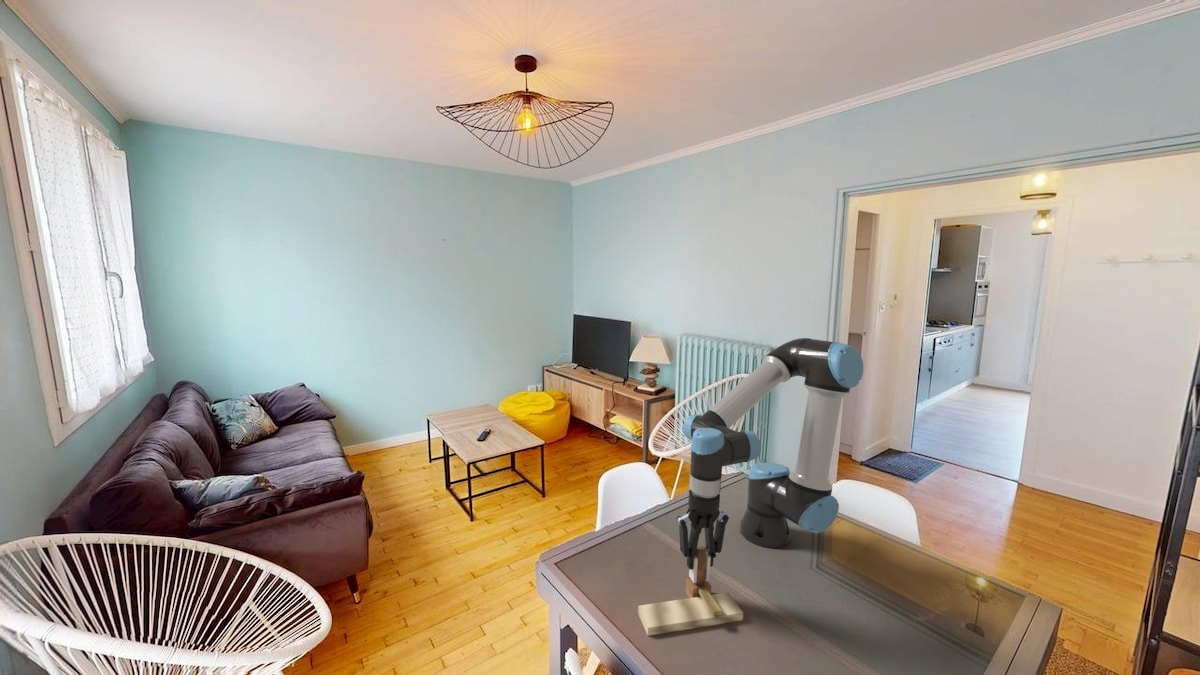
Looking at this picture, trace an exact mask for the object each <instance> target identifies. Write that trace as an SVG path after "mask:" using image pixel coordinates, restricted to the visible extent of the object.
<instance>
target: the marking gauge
mask: <svg viewBox="0 0 1200 675" xmlns="http://www.w3.org/2000/svg"><path fill="white" fill-rule="evenodd" d="M706 552H707V550H706V546H705V547H704V546H702V545H697V550H696V555H695V556H696V557H697V558H698V565H697V581H696V583H693V581H692V580H691V578H690V577H687V578H686V580H685V594H686V596H687V597H688V598H694V597H702V599H703V600H704V602H705V603H706V605H707V606H708V608H709V610H710V611H711V613H712V614H713V616H717V615H722V610H721V609H720V608H719V606H718V605H717V603H716V602H715V600H714V599H713V597H712V596H711V595H712V585H711V583H710V582H709V581H706V580H705V568H706Z"/></svg>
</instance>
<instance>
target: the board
mask: <svg viewBox="0 0 1200 675" xmlns="http://www.w3.org/2000/svg"><path fill="white" fill-rule="evenodd" d="M711 596H712V597H713V599H714V600H715V602H716V603H717V605H718V606H719V608H720V609H721V610H722V615H717V616H713V614H712V613H711V611H710V610H709V608H708V606H707V605H706V603H705V602H704V600H703V599H702V597H694V598H689V597H688V598H682V599H681V598H680V599H674V600H669V601H661V602H654V603H647V604H641V605H638V607H637V614H638V616H639V619H640V622H641V624H642V626H643V629H644V631H645V633H646V635H647V636H648V637H649V636H654V635H662V634H667V633H673V632H681V631H686V630H691V629H697V628H703V627H710V626H715V625H721V624H727V623H734V622H741V621H743V620H744V611H743V610H742V609H741V607H740V606H739V605H738V604H737V602H736V601H735V599H734V598H733V597H732V596H731V593H730V592H722V593H716V594H714V593H713V594H711Z"/></svg>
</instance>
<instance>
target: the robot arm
mask: <svg viewBox="0 0 1200 675" xmlns="http://www.w3.org/2000/svg"><path fill="white" fill-rule="evenodd" d="M863 374H864V361H863V358H862V355H861V353H860V352H859V350H858V348H856V347H854V346H853V345H849V344H847V343H843V342H839V341H837V342H836V341H827V340H823V339H822V340H821V339H813V338H809V337H803V338H802V337H801V338H796V339H792V340H790V341H788V342H785V343H783V344H781V345H779V346H777V347H776V348H774V349H773V350H771V351H769V353H767V354H766V355H765V356H764V357H763V358H762V360H761V364H760V365H758V366H757V368H755V369H754V370H753V371H752V372H750V373H749V374H748V375H747V376H746V377H745V378H744V379H742V380H741V381H740V382H739V383H738V384H737V385H736V386H734V387H733V388H732V389H731V390H730V391H728V392H727V394H725V395H724V396H722V398H720V399H719V400H717V402H716V403H715V404H713V406H711V407H709V409H708V410H707V411H705V412H704V413H703V414H702V415H700V414H691V415H689V416H687V418H686V419H685V420H684V422H683V426H682V430H683V435H684V437H686V438H687V439H688V440H689V441H691V443H690V450H691V451H690V470H689V471H690V472H689V485H688V486H689V487H688V488H689V491H688V507H687V508H688V509H687V510H686V513H685V514H684V515H683V516H681V515H678V516H676V521H677V523H678V527H679V528H678V529H679V549H680V550H679V551H680V552H681V554H682V555H683V556H684V557H685V558H687V559H686V566H687V568H688V569H689V571H688V576H689V577H688V578H691V580H692V581H693V583H696V581H697V565H698V558H697V557H696V556H695V555H696V550H697V546H699V539H700V534H702V529H704V540H705V548H706V550H707V552H706V568H705V580H706V581H708V582H709V581H710V574H711V567H713V566H714V559H715V558H717V554H720V553H721V552H722V550H723V544H724V537H725V530H726V525H727V523H728V521H729V519H730V518H729V516H728V515H727V514H726V513H725V512H724V511H722V510H721V511H720V503H721V502H720V500H721V494H720V493H721V489H722V487H721V486H722V474H723V473H722V472H723V467H728V466H731V465H736V464H742V463H748V462H749V461H753V460H756V459H757V458H759V456H760V455H761V451H762V443H761V440H760V438H759V437H758V435H757V434H756V433H755V432H753V431H751V430H740V431H737V430H734V429H732V428H731V427H732V426H733V425H735V423H737V422H738V421H739V420H741V418H742V417H744V415H746V414H747V413H748V412H749V411H750V410H752V408H753V407H755V406H756V405H757V404H758V403H759V402H760V401H761V400H762V399H764V398H765V397H766V396H767V395H768V394H769V393H770V392H771V391H773V390H774V389H775V388H776V387H777V386H778V385H779V384H780V383H787V382H788V381H790V379H791V378H794V377H802V378H805V379H804V382H803V383H804V384H803V385H804V386H805V389H807V391H808V395H807V401H806V407H805V413H804V418H803V423H802V424H803V425H802V430H801V436H800V441H799V447H798V453H797V460H796V465H795V470H794V471H793V472H791V471H790V468H789V467H788V466H786V465H784V464H780V463H775V462H759V463H755V464H753V465H752V466H751V467H750V471H749V476H748V487H747V488H748V489H747V490H748V491H747V505H746V510H745V512H744V513H743V515H742V516H743V517H742V518H741V520H740V522H739V523H740V524H739V532H740V534H741V536H742V537H743V538H745V539H746V540H747V541H749V542H751V543H753V544H755V545H757V546H760V547H765V548H769V549H770V548H771V549H774V548H775V549H776V548H783V547H786V546H787V545H788V544H789V543H790V539H791V532H790V528H789V523H788V520H789V521H791V522H792V523H794V524H796V525H797V526H799V527H800V528H801V529H805V530H807V531H808V532H811V533H814V534H818V533H819V534H820V533H823V532H825V531H826V530H827V529H829V527H831V525H832V524H833V523H834V521H835V520H836V518H837V516H838V513H839V509H840V504H839V501H838V499H837V498H836V497H835V496H833V495H832V493H833V484H832V483H831V482H830V480H829V474H830V468H831V463H832V457H833V451H834V446H835V439H836V436H837V434H836V433H837V428H838V422H839V417H840V412H841V406H842V405H841V404H842V400H843V397H845V396H847V395H849V394H850V391H851V389H852V388H855V387H857V386H858V385H859V384H860V381H861V380H862V378H863ZM689 521H690V531H689V529H688V526H689ZM714 524H715V527H714ZM688 531H689V532H690V533H689V532H688ZM716 553H717V554H716Z"/></svg>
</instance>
